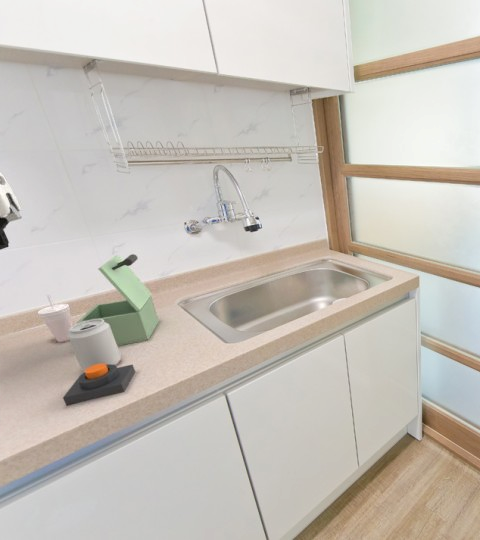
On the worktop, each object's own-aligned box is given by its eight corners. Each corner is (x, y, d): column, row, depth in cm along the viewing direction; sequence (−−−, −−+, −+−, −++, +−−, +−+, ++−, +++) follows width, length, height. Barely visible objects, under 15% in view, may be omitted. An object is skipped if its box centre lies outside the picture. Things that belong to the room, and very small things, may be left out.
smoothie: (54, 346, 92) (34, 301, 88) (47, 340, 95) (27, 296, 91) (84, 336, 97) (66, 292, 93) (76, 330, 101) (59, 288, 96)
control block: (66, 406, 70) (59, 390, 68) (83, 383, 76) (76, 369, 75) (124, 392, 73) (118, 377, 72) (135, 371, 80) (130, 357, 79)
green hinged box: (87, 351, 89) (76, 323, 86) (105, 330, 100) (95, 304, 97) (148, 340, 94) (139, 312, 91) (159, 321, 105) (151, 296, 102)
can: (84, 379, 78) (66, 335, 74) (81, 367, 83) (63, 324, 79) (124, 365, 83) (109, 322, 79) (119, 354, 88) (104, 313, 84)
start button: (84, 381, 71) (81, 374, 71) (91, 372, 75) (88, 365, 74) (104, 376, 73) (102, 370, 72) (111, 367, 76) (108, 361, 75)
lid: (97, 268, 85) (121, 258, 86) (115, 256, 96) (136, 246, 97) (137, 311, 91) (158, 301, 92) (149, 295, 102) (168, 286, 103)
